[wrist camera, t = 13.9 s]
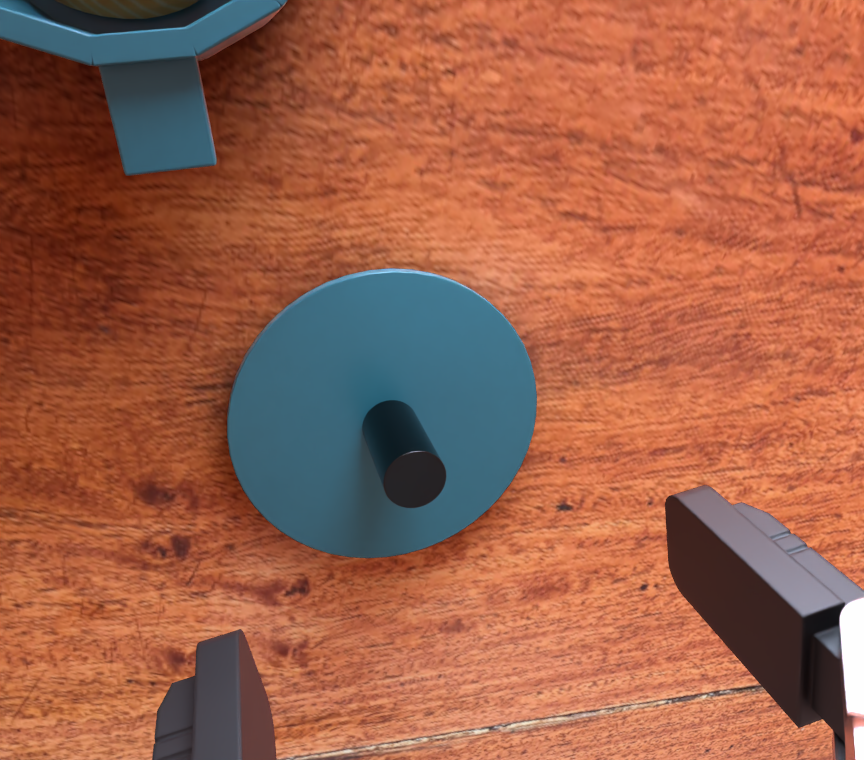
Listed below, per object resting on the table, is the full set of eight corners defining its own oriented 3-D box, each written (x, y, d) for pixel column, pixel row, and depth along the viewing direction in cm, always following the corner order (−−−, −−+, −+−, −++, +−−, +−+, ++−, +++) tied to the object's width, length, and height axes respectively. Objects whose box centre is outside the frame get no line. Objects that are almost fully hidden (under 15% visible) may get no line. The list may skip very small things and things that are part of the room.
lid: (257, 572, 35) (263, 663, 29) (196, 291, 29) (190, 341, 24) (532, 511, 37) (584, 585, 32) (522, 243, 32) (582, 277, 27)
